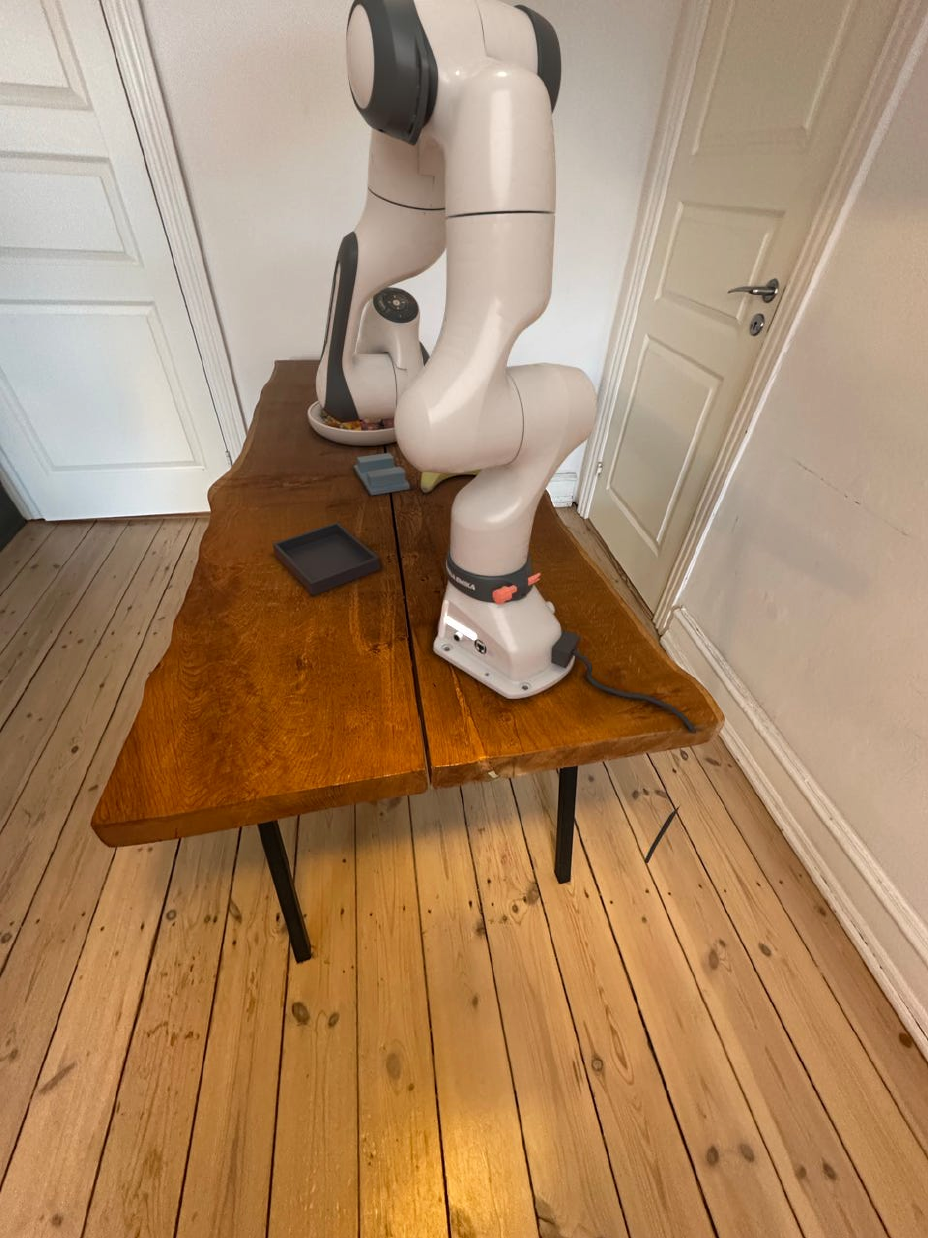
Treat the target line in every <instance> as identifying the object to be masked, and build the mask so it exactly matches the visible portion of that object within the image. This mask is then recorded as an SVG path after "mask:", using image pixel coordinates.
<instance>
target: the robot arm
mask: <svg viewBox="0 0 928 1238" xmlns="http://www.w3.org/2000/svg"><path fill="white" fill-rule="evenodd" d="M345 34H346V37H345V63H346V71H347V73H346V74H347V79H348V85H349V90H350V95H351V98H352V101H353V104H354V106H355V108H356V110H357V111H358V113H359V114H360V116H361V117H362V118H363V120H364V122H365V123H366V124H367V125H368V126H369V127H370V128H371V132H370V141H369V148H368V161H367V163H368V164H367V185H366V186H367V189H366V198H365V204H364V208H363V209H362V213H361V216H360V218H359V219H358V223H357V224H356V225H355V228H354V229H353V231H351V232H349V233H348V234H346V235H345V236H343V237H342V239H341V242H340V246H339V248H338V251H337V256H336V260H335V265H334V271H333V276H332V284H331V289H330V295H329V296H330V297H329V303H328V310H327V318H326V325H325V332H324V338H323V345H322V350H321V355H320V357H319V358H320V359H319V362H318V367H317V372H316V377H315V392H316V397H317V401H319V404H320V407H321V409H322V410H323V411H324V412H325V413H326V414H328V415H329V416H330V417H332V418H333V419H334V420H336V421H338V422H339V423H348V422H354V421H360V420H364V419H382V418H392V417H394V431H395V436H396V440H397V441H396V443H397V445H398V448H399V450H400V452H401V453H402V456H403V457H404V458H405V459H406V461H408V463H409V464H410V465H411V466H413V467H414V468H415V469H416V470H417V471H419V472H422V473H423V472H432V473H463V472H468V471H473V470H479V469H482V470H481V471H480V473H479V474H478V475H475V477H474V478H473V479H472V480H471V481H469V482H468V483H467V484H465V486H463V487H462V488H461V489H460V490H459V491H458V493H456V496H455V498H454V499H453V503H452V504H451V508H450V509H451V510H450V537H449V547H448V549H447V552H446V559H445V568H446V570H445V571H446V572H445V574H446V578H447V584H446V588H445V593H444V596H443V600H442V603H441V612H440V617H439V620H438V622H437V636H436V637H435V639H434V641H433V645H432V646H433V647H432V651H433V652H434V653H435V655H438V656H439V657H441V658H442V659H444V660H445V661H447V662H449V663H450V664H452V665H453V666H455V667H456V668H458V669H460V670H462V671H463V672H465V673H466V674H468V676H471V677H472V678H474V679H475V680H477V681H478V682H480V683H482V684H483V685H485V686H487V688H489V689H492V691H494V692H496V693H498V694H499V695H501V696H502V697H503V698H506V699H509V700H516V699H518V700H519V699H523V698H528V697H532V696H535V695H537V694H539V693H542V692H543V691H545V690H547V689H549V688H550V687H553V686H554V685H556V684H557V683H559V682H560V681H561V680H562V679H564V678H565V676H567V675H568V674H569V673H570V671H571V670H572V669H573V666H574V664H575V660H576V658H577V659H579V660H580V661H581V662H583V664H584V665H585V666H586V670H585V678H586V680H587V681H588V682H589V683H590V684H591V685H592V686H593V687H595V688H597V689H599V690H601V691H604V692H607V693H610V694H613V695H614V696H619V697H622V698H627V699H636V700H643V701H646V702H649V703H651V704H654V705H656V706H659V707H661V708H663V709H665V710H667V711H669V712H671V713H672V714H673V715H675V716H676V717H678V718H679V719H680V720H681V721H682V722H683V723H684V725H685V726H686V727H687V729H688V730H689V732H690V733H691V734H697V731H696V728H695V727H694V725H693V724H692V722H691V721H690V719H689V718H688V717H687V716H686V715H685V714H684V713H683V712H681V711H680V710H679V709H677V708H675V707H674V706H672V705H670V704H668V703H666V702H664V701H662V700H659V699H657V698H655V697H652V696H649V695H646V694H643V693H636V692H635V693H634V692H628V691H627V692H626V691H622V690H619V689H615V688H613V687H610V686H606V685H603V684H601V683H600V682H597V681H596V680H595V679H594V678H593V677H592V676H591V675H592V672H593V665H592V662H590V659H588V658H587V657H586V656H584V655H583V654H582V653H580V652H579V651H578V646H579V643H580V638H581V636H580V635H579V634H577V633H573V632H571V631H568V630H564V629H563V630H562V626H561V623H560V622H559V620H558V619H557V617H556V616H555V612H556V610H555V606H554V604H553V603H552V602H551V601H550V600H548V601H546V600H545V598H544V597H543V595H542V594H541V592H540V591H539V590H538V589H539V588H537V586H536V585H535V583H537V582H538V581H540V580H541V578H540V576H541V575H542V574H541V572H538V573H535V574H534V570H533V566H532V560H531V555H530V553H529V550H530V543H531V536H532V530H533V525H534V521H535V516H536V513H537V509H538V506H539V504H540V501H541V499H542V497H543V496H544V493H545V491H546V489H547V487H548V486H549V484H550V482H551V480H552V479H553V477H554V476H555V475H556V473H557V471H558V470H559V468H561V466H562V464H563V463H564V462H565V461H566V460H567V459H568V457H569V456H570V455H571V454H572V453H573V452H575V450H577V449H578V448H579V447H580V446H581V445H582V444H584V443H585V442H586V441H587V439H589V437H590V436H591V434H592V432H593V430H594V428H595V425H596V421H597V417H598V412H599V411H598V409H599V404H598V395H597V391H596V389H595V385H594V384H593V382H592V380H591V379H590V377H589V375H588V374H587V373H586V372H585V371H584V370H583V369H581V368H580V367H576V366H573V365H572V366H571V365H566V364H560V363H559V364H558V363H551V362H538V363H537V362H535V363H528V364H518V365H510V366H508V361H509V358H510V354H511V352H512V349H513V347H514V345H515V344H516V341H517V340H518V338H519V337H520V336H521V334H522V333H523V332H524V331H525V330H526V329H528V328H529V327H530V326H532V325H534V323H536V322H537V321H538V320H539V319H540V318H542V316H543V315H544V313H545V312H546V310H547V309H548V306H549V304H550V301H551V299H552V298H551V297H552V292H553V272H554V254H555V253H554V251H555V249H554V248H555V227H556V209H557V208H556V205H557V204H556V203H557V166H556V163H557V162H556V144H555V133H554V121H553V113H554V111H555V108H556V106H557V102H558V99H559V95H560V90H561V84H562V83H561V82H562V54H561V53H562V52H561V46H560V41H559V37H558V34H557V32H556V30H555V28H554V26H553V24H552V23H550V22H549V20H548V19H547V18H546V17H545V16H544V15H541V14H540V13H538V12H537V11H535V10H533V9H531V8H530V7H527V6H526V5H523V4H516V5H511V4H509V3H506V2H504V1H501V0H353V2H352V4H351V7H350V9H349V14H348V18H347V25H346V33H345ZM445 252H446V253H445ZM444 253H445V254H446V255H445V256H446V259H445V260H446V261H445V263H446V267H445V268H446V270H445V271H446V272H445V273H446V275H445V277H446V279H445V281H446V283H445V304H444V305H445V306H444V313H443V318H442V324H441V327H440V331H439V334H438V337H437V340H436V342H435V345H434V347H433V350H432V352H431V354H430V353H429V352H428V350H427V349H426V347H425V346H424V344H423V343H422V342H421V341H420V323H421V310H420V309H421V308H420V305H419V302H418V301H417V300H416V298H415V297H414V296H413V295H412V294H411V293H409V292H408V291H407V290H405V289H402V288H400V287H393V286H394V285H396V284H398V283H399V284H400V283H402V282H404V281H406V280H409V279H412V278H416V277H417V276H419V275H421V274H423V273H425V272H426V271H428V270H429V269H430V268H432V266H434V265H435V264H436V263H437V262H438V261H439V259H441V257H442V256H443V254H444ZM391 286H392V287H391ZM364 308H365V309H364ZM362 314H363V315H362ZM358 336H359V337H358ZM680 807H681V805H679V806H678V807H676V808H675V809H674V810H673V811H672V812H671V813H670V814H669V815H668V816H667V818H666V820H665V822H664V824H663V825H662V827H661V829H660V830H659V832H658V833H657V835H656V837H655V839H654V841H653V842H652V844H651V846H650V848H649V850H648V852H647V854H646V856H645V858H644V863H645V864H649V863H650V860H651V859H652V856H653V854H654V853H655V851H656V848H657V847H658V845H659V843H660V841H661V840H662V838H663V836H665V834H666V832H667V830H668V828H669V827H670V824H671V823H672V821H673V820H674V818H675V817H676V815H677V813H678V811H679V809H680Z"/></svg>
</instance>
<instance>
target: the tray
mask: <svg viewBox="0 0 928 1238" xmlns="http://www.w3.org/2000/svg"><path fill="white" fill-rule="evenodd" d="M272 548H273V553H274V555H275V557H276V558H277V559H278V560H279V561H280V562H281V563H282V564H283V565H284V566H285V567H286V568H287V569H288V570H289V571H290V573H291V574H292V575H293V576H294V577H295V578H296V579H297V580H298V581H299V582H300V584H301V585H303V587H305V589H306V590H307V591H308V592H309V593H310V594H311V595H312V596H313V597H314V596H316V595H318V594H321V593H324V592H326V591H329V590H332V589H334V588H336V587H339V586H342V585H344V584H347V583H350V582H352V581H354V580H357V579H360V578H362V577H364V576H365V577H366V576H367V575H369V574H373V573H375V572H377V571H380V570H381V562H380V559H381V558H380V557H379V556H378V555H377V554H376V553H375V552H373V551H372V550H371V549H370V548H368V547H367V546H366V544H364V543H363V542H362V541H361V540H359V539H358V538H357V537H355V536H354V535H353V533H351V532H350V531H349V530H348V529H346V528H345V527H344V526H343V525H342V524H341V523H339V521H336V522H334V523H331V524H327V525H325V526H321V527H318V528H315V529H312V530H309V531H306V532H303V533H300V534H297V535H294V536H291V537H287V538H285V539H282V540H279V541H275V542H273V543H272Z"/></svg>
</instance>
